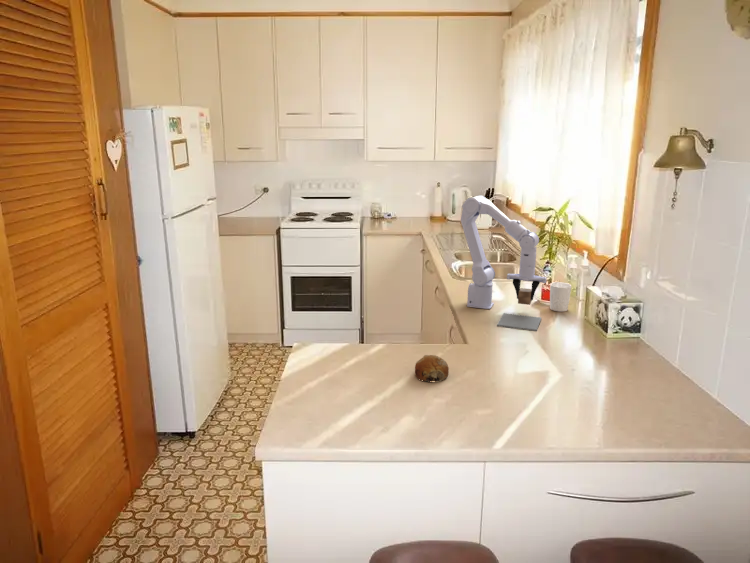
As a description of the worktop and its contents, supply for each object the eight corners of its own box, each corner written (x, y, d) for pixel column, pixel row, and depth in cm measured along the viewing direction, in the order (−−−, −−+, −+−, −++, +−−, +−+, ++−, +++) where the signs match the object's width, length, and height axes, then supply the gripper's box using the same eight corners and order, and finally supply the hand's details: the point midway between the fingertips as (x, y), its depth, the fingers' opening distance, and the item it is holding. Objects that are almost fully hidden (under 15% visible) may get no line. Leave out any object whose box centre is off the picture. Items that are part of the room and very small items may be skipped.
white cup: (566, 306, 228) (568, 282, 225) (571, 312, 220) (573, 287, 217) (546, 305, 228) (548, 281, 226) (550, 311, 221) (552, 287, 218)
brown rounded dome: (450, 386, 167) (454, 359, 168) (440, 385, 158) (445, 356, 159) (418, 379, 171) (423, 353, 172) (407, 378, 162) (412, 350, 163)
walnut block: (517, 303, 217) (518, 291, 216) (519, 300, 221) (520, 287, 220) (529, 304, 216) (530, 292, 214) (531, 301, 220) (532, 289, 218)
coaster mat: (496, 326, 205) (497, 324, 205) (503, 314, 218) (503, 313, 218) (536, 331, 200) (536, 329, 200) (541, 319, 213) (541, 317, 213)
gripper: (506, 265, 214) (504, 299, 217) (546, 268, 208) (543, 304, 212) (509, 261, 220) (507, 294, 224) (548, 264, 215) (545, 298, 218)
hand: (524, 298), depth 218 cm, fingers closed on walnut block, 4 cm apart
